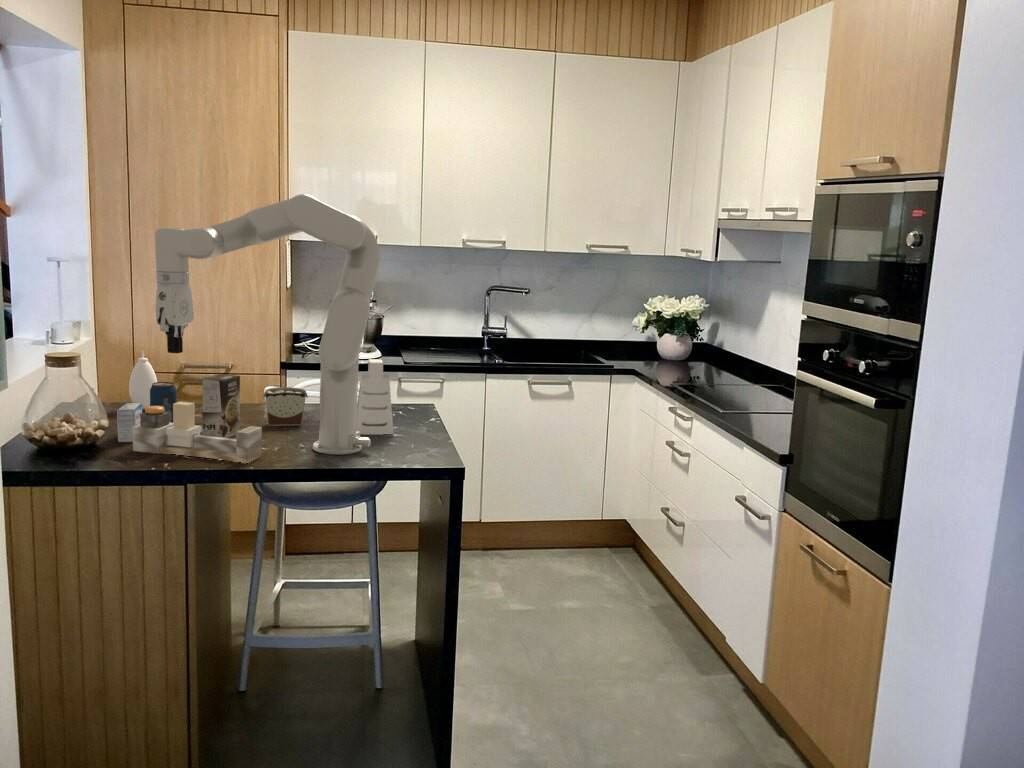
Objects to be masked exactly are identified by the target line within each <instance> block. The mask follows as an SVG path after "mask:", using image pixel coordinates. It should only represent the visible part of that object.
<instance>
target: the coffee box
mask: <svg viewBox="0 0 1024 768" xmlns="http://www.w3.org/2000/svg"><path fill="white" fill-rule="evenodd" d="M201 396H202V403H201V404H202V413H201V414H202V415H201V416H202V417H201V418H202V419H201V421H202V423H201V424H202V425H201V426H202V432H201V433H202V434H201V435H203V436H212V437H221V438H229V437H230V438H232V437H231V436H233V437H235V436H236V432H238V431H240V430H241V429H240V428H241V427H240V425H241V424H240V422H241V414H240V413H241V412H240V411H241V410H240V409H241V407H240V406H241V398H240V397H241V375H235V374H234V375H233V374H220V373H218V374H216V375H213V376H212V375H211V376H209V377H208V376H207V377H205V378H202V395H201ZM234 435H235V436H234ZM230 438H229V439H230Z"/></svg>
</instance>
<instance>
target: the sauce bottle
mask: <svg viewBox="0 0 1024 768" xmlns="http://www.w3.org/2000/svg"><path fill="white" fill-rule="evenodd" d="M144 352H145V351H144V349H142V350H141V357H139V358H138V359H137V362H136V363H135V364H134V367H133V369H132V371H131V373H130V378H129V382H128V395H129V398H130V401H131V403H140V404H142V409H145V407H148V406H150V389H151V387H152V383H155V382H158V380H157V375H156V373H155V370H154V368H153V366H152V364H151V363H150V362H149V359H148V358H147V357H144V356H145V353H144Z"/></svg>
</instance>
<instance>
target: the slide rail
mask: <svg viewBox="0 0 1024 768" xmlns="http://www.w3.org/2000/svg"><path fill="white" fill-rule="evenodd" d="M172 426H173V423H170V422H169V413H167V412H163V413H160V414H159V415H150V414H149V413H146V412H145V411H144V412H142V414H140V425H137V426H134V427H133V442H132V451H133V452H140V453H148V452H149V454H156V453H157V455H159V454H161V453H162V454H164V455H170V454H176V455H175V456H178V455H187V456H196V457H206V458H214V459H222V460H228V461H227V462H229V461H233V462H232V463H238V462H241V463H240V464H246V463H248V464H250V463H252V462H254V461H256V460H258V459H260V458H262V457H261V456H262V452H263V449H262V444H263V441H262V440H263V439H262V438H263V434H262V433H263V432H262V431H263V428H262V426H253V425H250V426H248V427H244V428H243V429H240V431H238V432H236V435H235V436H236V438H221V437H212V436H203V435H202V434H200V435H193V447H182V446H173V445H168V435H166V428H169V427H172ZM162 454H161V455H162ZM187 456H186V457H187ZM259 457H260V458H259ZM257 458H258V459H257ZM255 459H256V460H255ZM253 460H254V461H253ZM251 461H252V462H251ZM249 462H250V463H249Z"/></svg>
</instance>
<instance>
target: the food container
mask: <svg viewBox="0 0 1024 768" xmlns="http://www.w3.org/2000/svg"><path fill="white" fill-rule="evenodd" d="M262 398H263V399H264V398H265V406H266V416H267V417H266V418H267V425H268V427H270V426H272V427H273V426H277V427H278V426H279V427H280V426H281V427H282V426H284V427H285V426H302V425H303V422H304V411H305V404H306V398H307V399H308V398H309V397H308V393H307V390H305V389H303V388H299V387H290V386H288V387H287V386H282V387H271V388H270V387H269V388H268V389H265V390H264V392H263V397H262Z"/></svg>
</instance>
